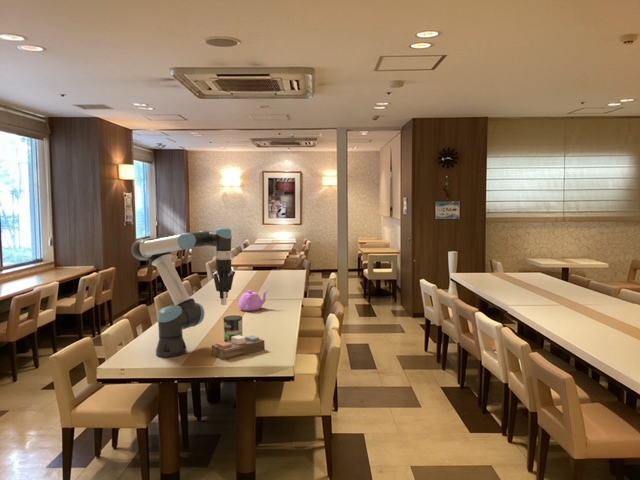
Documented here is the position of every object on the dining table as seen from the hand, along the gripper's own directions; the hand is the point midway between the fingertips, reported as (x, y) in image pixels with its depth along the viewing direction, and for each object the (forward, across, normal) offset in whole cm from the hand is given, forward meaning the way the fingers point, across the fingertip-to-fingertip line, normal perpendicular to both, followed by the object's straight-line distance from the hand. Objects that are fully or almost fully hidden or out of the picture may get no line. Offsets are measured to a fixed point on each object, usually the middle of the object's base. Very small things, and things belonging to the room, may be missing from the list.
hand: (223, 304), depth 256 cm
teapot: (+27, +75, +70) cm, 106 cm away
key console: (+25, +5, -6) cm, 26 cm away
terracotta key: (+21, -4, -6) cm, 22 cm away
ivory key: (+20, +5, -6) cm, 21 cm away
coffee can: (+25, +14, +10) cm, 31 cm away
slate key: (+21, +13, -7) cm, 26 cm away
